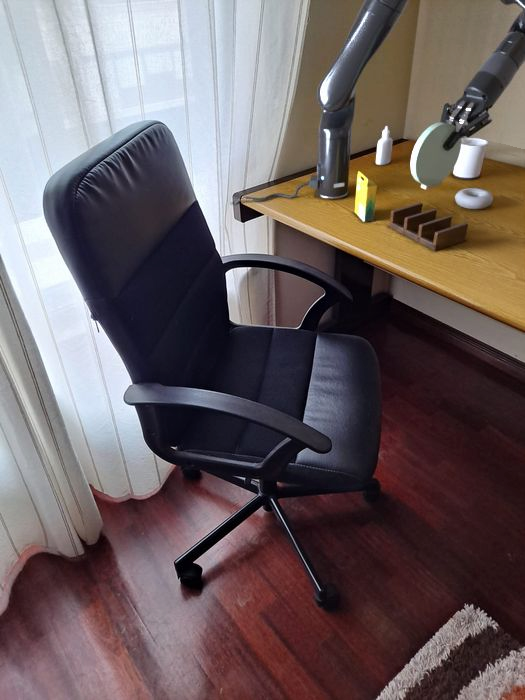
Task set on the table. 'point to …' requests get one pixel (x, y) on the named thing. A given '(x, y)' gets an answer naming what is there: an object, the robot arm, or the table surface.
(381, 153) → the eye dropper bottle
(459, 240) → the rack
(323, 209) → the table surface
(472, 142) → the mug
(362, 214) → the crayon box
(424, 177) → the plate
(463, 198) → the donut
